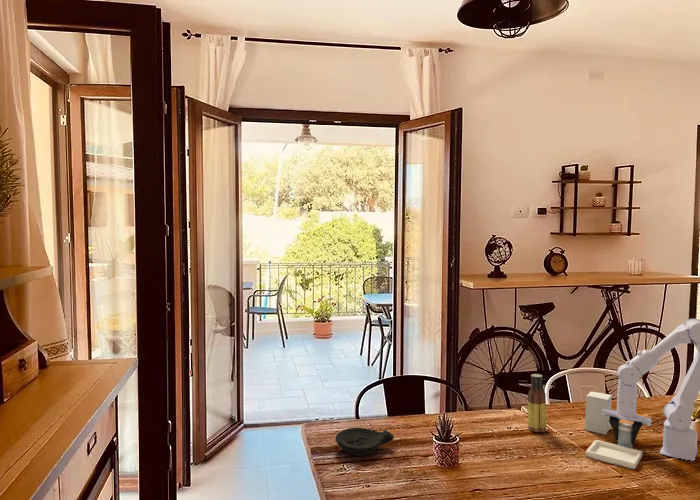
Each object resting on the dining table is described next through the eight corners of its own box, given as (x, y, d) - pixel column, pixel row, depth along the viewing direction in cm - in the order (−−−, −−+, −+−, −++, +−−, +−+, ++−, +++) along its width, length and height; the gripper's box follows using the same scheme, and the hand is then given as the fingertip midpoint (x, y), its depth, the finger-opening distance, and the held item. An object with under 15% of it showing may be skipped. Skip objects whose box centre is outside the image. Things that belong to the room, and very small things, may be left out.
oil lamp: (402, 456, 170) (402, 440, 170) (343, 463, 164) (343, 447, 164) (385, 438, 184) (385, 424, 184) (330, 444, 178) (330, 429, 178)
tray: (642, 456, 172) (642, 451, 172) (634, 469, 163) (634, 463, 163) (595, 444, 181) (595, 439, 181) (585, 456, 172) (585, 451, 171)
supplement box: (606, 435, 190) (607, 399, 189) (584, 430, 194) (585, 395, 194) (611, 429, 196) (612, 394, 195) (589, 424, 200) (590, 390, 200)
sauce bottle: (543, 427, 196) (545, 373, 196) (548, 433, 190) (549, 378, 189) (525, 426, 197) (526, 372, 196) (528, 432, 191) (530, 377, 190)
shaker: (633, 446, 180) (634, 425, 180) (631, 450, 177) (632, 429, 176) (618, 442, 183) (619, 421, 183) (615, 447, 180) (616, 425, 179)
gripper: (600, 399, 181) (598, 439, 181) (649, 409, 172) (647, 451, 172) (605, 394, 186) (603, 433, 187) (653, 403, 177) (651, 444, 178)
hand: (625, 441), depth 180 cm, fingers closed on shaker, 4 cm apart
